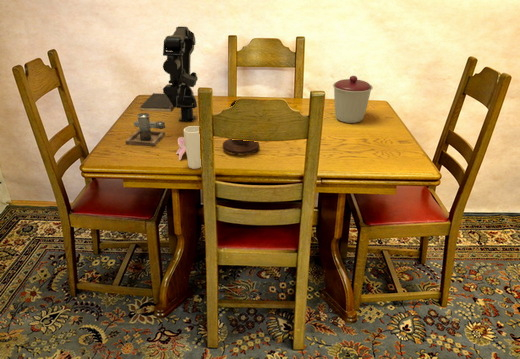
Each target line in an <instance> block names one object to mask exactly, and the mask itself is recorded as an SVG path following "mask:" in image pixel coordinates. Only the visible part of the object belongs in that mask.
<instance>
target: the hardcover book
mask: <svg viewBox="0 0 520 359" xmlns="http://www.w3.org/2000/svg"><path fill="white" fill-rule="evenodd" d="M139 108H140V111H147V112H148V111H150V112H152V111H153V112H156V111H157V112H173V110H174V109H176V108H175V107H174V106H173V105H172V103H171V101H170V100H169V98H168V97H167V95H165V93H159V92H158V93H155V92H153V93H152V94H151V95H150V96H149V97H148V98H147V99H146V100H145V101H144V102H143V103H142V104H141V105H140V106H139Z"/></svg>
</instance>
